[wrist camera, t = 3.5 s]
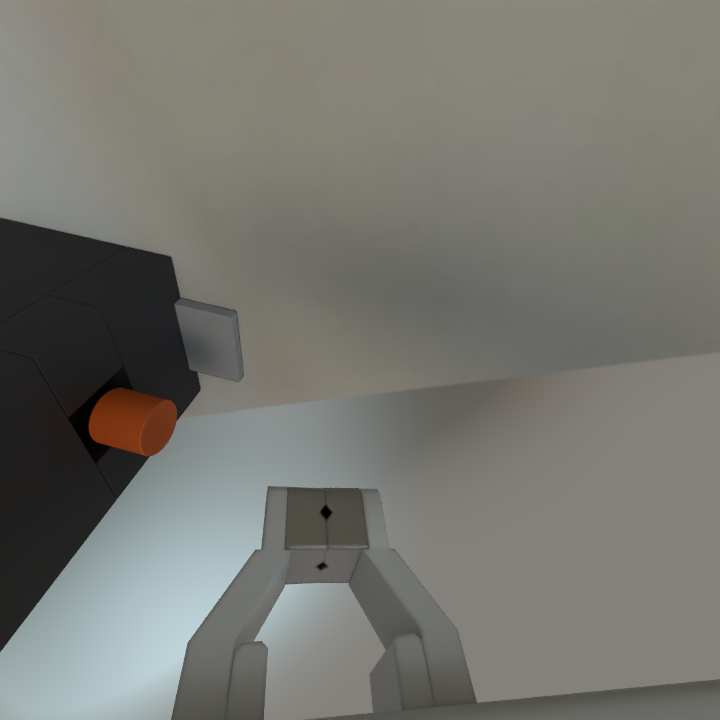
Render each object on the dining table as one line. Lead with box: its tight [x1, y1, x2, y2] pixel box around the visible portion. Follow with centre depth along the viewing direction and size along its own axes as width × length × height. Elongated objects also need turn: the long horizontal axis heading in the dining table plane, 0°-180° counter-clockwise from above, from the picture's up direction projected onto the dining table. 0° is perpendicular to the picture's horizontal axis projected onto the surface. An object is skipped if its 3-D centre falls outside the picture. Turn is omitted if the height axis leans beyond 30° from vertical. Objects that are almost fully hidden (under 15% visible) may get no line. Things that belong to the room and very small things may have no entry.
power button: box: [89, 388, 177, 456], centre depth 21 cm, size 3×3×3 cm
